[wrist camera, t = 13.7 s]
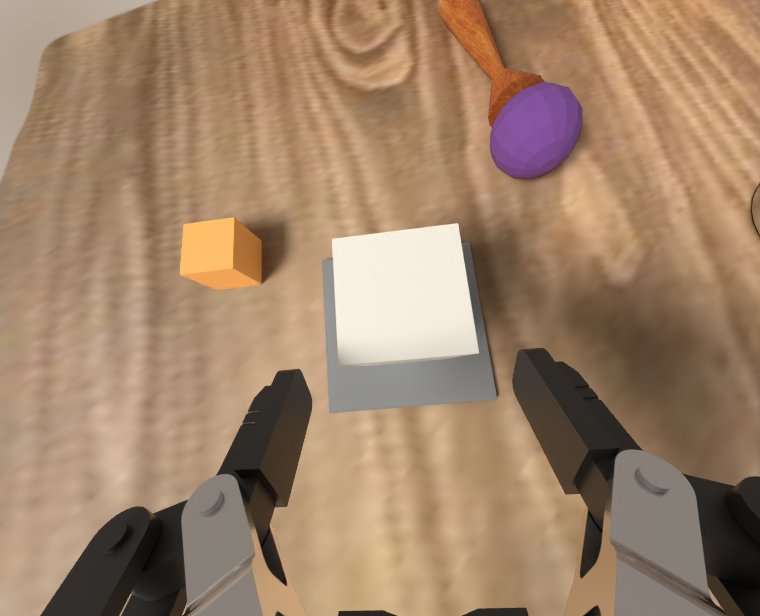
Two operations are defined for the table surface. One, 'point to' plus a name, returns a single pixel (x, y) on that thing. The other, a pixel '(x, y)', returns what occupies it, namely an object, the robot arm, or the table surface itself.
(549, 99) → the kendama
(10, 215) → the table surface
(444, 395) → the mat
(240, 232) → the block
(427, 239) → the cover
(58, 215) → the table surface
